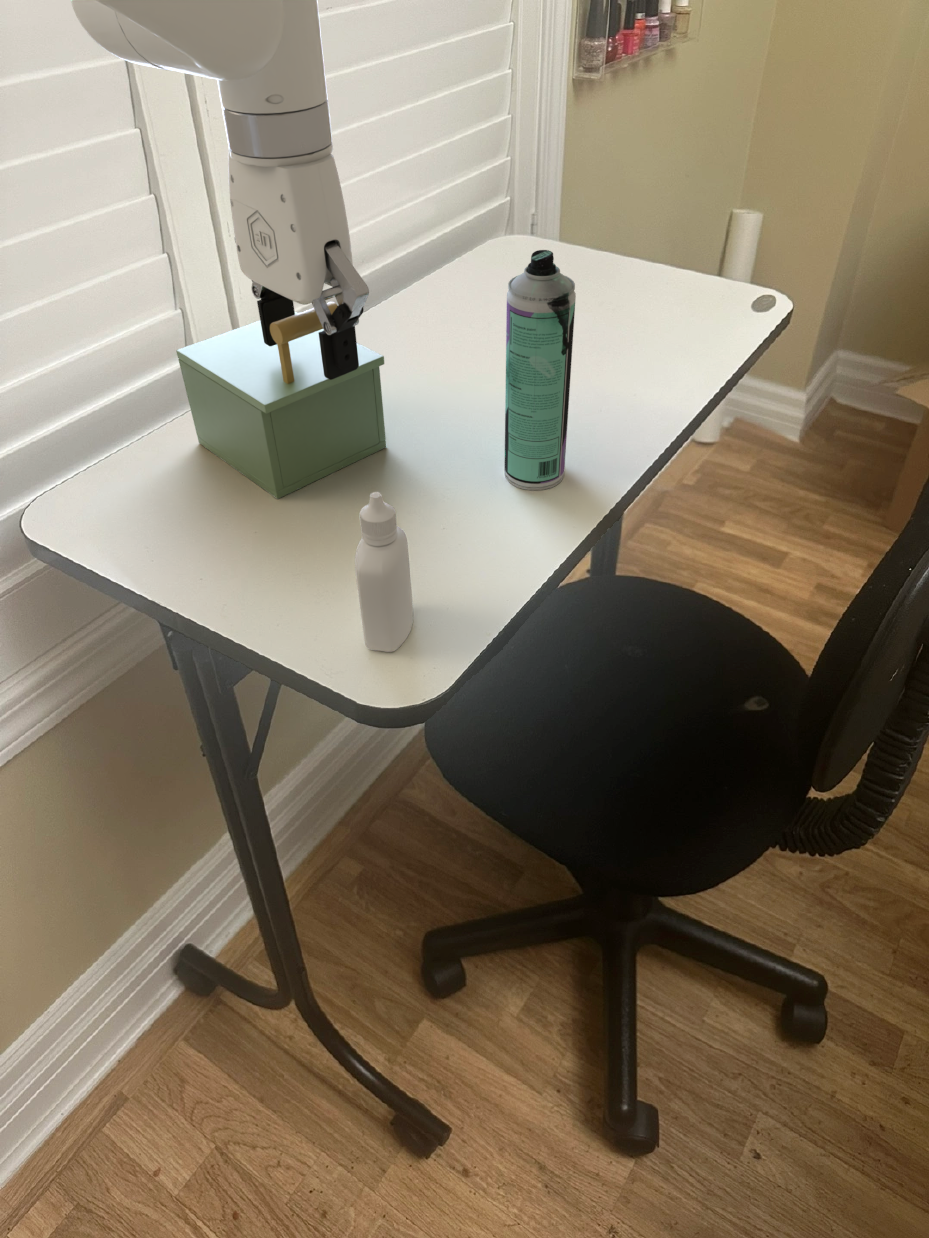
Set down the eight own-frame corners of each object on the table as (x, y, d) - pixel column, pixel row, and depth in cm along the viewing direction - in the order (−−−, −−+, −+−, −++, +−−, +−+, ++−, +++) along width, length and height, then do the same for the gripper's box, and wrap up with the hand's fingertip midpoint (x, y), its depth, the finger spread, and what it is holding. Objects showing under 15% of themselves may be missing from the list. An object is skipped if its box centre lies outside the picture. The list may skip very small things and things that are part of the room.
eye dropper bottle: (341, 635, 67) (321, 502, 59) (394, 597, 70) (381, 465, 62) (384, 661, 65) (369, 526, 57) (436, 621, 68) (428, 487, 60)
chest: (386, 447, 87) (379, 362, 81) (277, 499, 81) (260, 411, 75) (304, 398, 95) (291, 317, 89) (198, 443, 88) (177, 358, 82)
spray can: (574, 468, 84) (590, 248, 70) (545, 497, 80) (556, 272, 67) (523, 452, 86) (529, 236, 73) (493, 479, 83) (493, 258, 69)
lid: (384, 364, 81) (379, 297, 77) (266, 414, 74) (253, 343, 70) (291, 317, 89) (282, 254, 85) (177, 358, 82) (161, 292, 78)
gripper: (172, 119, 68) (218, 339, 80) (306, 166, 59) (337, 407, 71) (256, 101, 72) (288, 314, 84) (395, 142, 63) (410, 376, 74)
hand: (310, 355), depth 77 cm, fingers open, 8 cm apart
